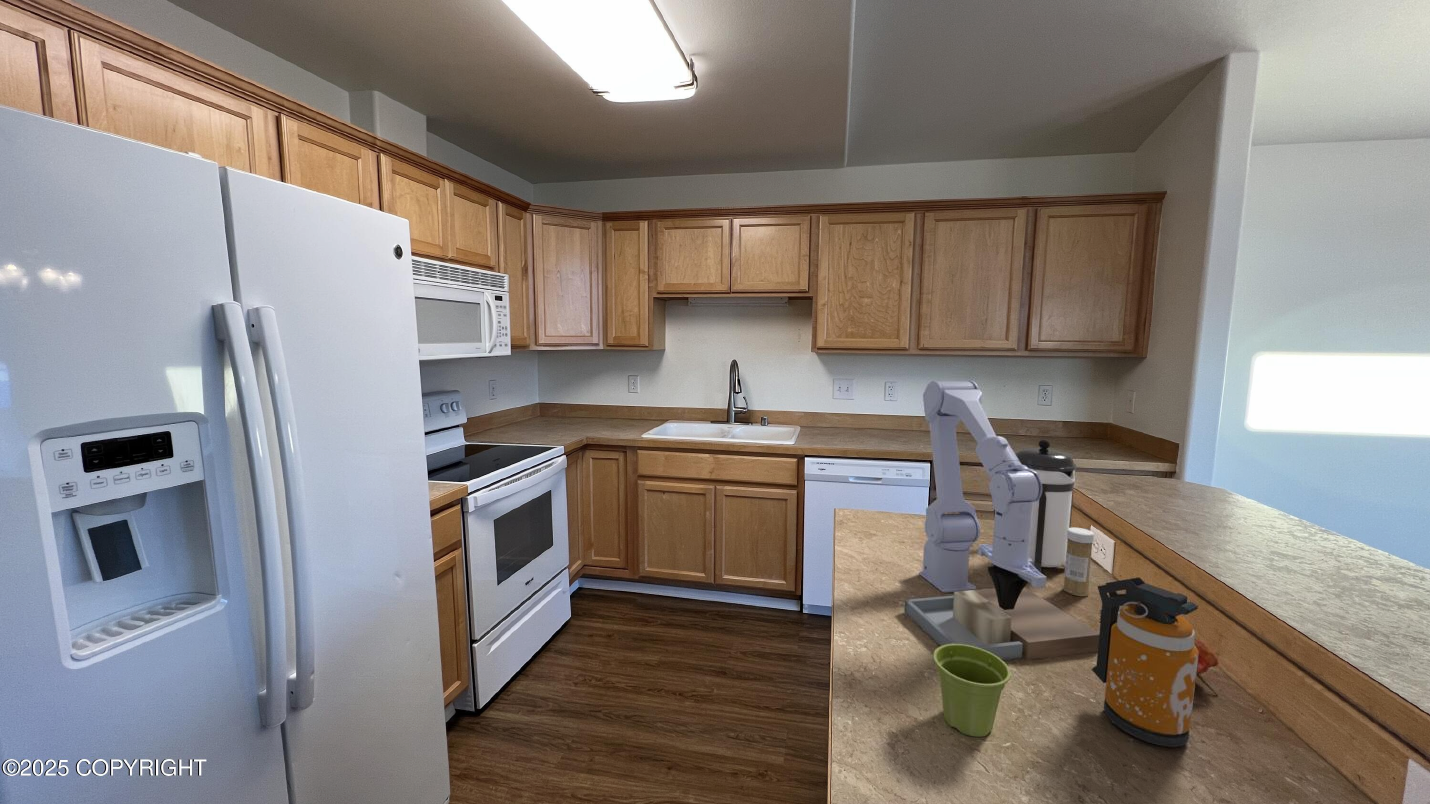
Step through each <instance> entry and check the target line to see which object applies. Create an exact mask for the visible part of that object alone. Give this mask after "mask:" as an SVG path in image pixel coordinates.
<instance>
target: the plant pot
mask: <svg viewBox="0 0 1430 804" xmlns="http://www.w3.org/2000/svg"><path fill="white" fill-rule="evenodd" d="M933 661H934V663H935V664H936V669H937V672H938V674H939V682H940V689H941V691H940V692H941V700H942V701H941V702H942V710H943V711H942V712H943V718H944V719H945V721H946V723H947V724H948V725H949V726H950V727H952V728H955V729H957V730H958V731H959V732H960V733H961V734H964V735H966V736H970V737H980V738H981V737H982V738H983V737H985V736H988V735H989V733H991V732H992V731H993V728H994V725H995V720H996V717H997V710H998V708H999V702H1000V698H1001V694H1002V691H1003V690H1004V689H1005V685H1006V684H1007V683H1008V682H1009V681H1010V678H1011V670H1010V668H1009V666H1008V665H1007V664H1006V662H1005V661H1004V660H1001V659H1000V658H999V657H997V656H995V655H994V654H992V653H990V652H988V651H986V650H983V649H981V648H978V647H974V646H970V645H964V644H947V645H943V646H941V647H940V646H939V647H936V649H935V650H934V652H933Z"/></svg>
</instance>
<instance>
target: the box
mask: <svg viewBox="0 0 1430 804" xmlns="http://www.w3.org/2000/svg"><path fill="white" fill-rule="evenodd" d="M953 603H954V595H945V596H936V597H935V596H934V597H933V596H931V597H924V598H923V597H922V598H912V599H905V600H904V614H906V615H907V616H908V617H909V618H910V619H911V620H912V621H913V622H914V623H915V624H916V625H918V627H919V628H920V629H921V630H922V631H923V632H925V634H926V635H927V636H928V637H930V639H932V640H933V641H934V642H935V643H936V644H937V645H938V646H939V647H941V646H943V645H947V644H964V645H970V646H974V647H978V648H981V649H983V650H986V651H988V652H990V653H992V654H994V655H995V656H997V657H999V658H1000V659H1001V660H1002V661H1007V660H1010V661H1011V660H1017V659H1022V658H1023V656H1022V649H1023V644H1022V643H1021V642H1020V641H1017V642H1008V643H999V644H990V645H986V644H985V643H983V642H982V641H981V640H980V639H979V638H977V637H976V636H975V635H974V634H973V633H971V632H970V631H969V630H968V629H967V628H965V627H964V626H963V625H962V624H961V623H959V622H958V621H957V620H956V619H955V618H953Z"/></svg>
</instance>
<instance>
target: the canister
mask: <svg viewBox="0 0 1430 804" xmlns="http://www.w3.org/2000/svg"><path fill="white" fill-rule="evenodd" d="M1097 590H1098V594H1099V597H1100V600H1101V609H1100V613H1099V614H1100V615H1099V617H1100V618H1099V623H1100V625H1099V632H1098V633H1099V643H1098V651H1097V655H1096V665H1095V666H1094V667H1093V668H1091V671H1092V672H1093V673H1094V674H1095V675H1096V677H1098V679H1099V680H1100V681H1101V682H1102V683H1103V684H1105V692H1104V693H1105V694H1104V702H1103V711H1104V712H1105V715H1106V716H1107V717H1108V719H1109V720H1110V721H1111V722H1112V723H1113V724H1115V725H1116V726H1117V727H1118V728H1119V729H1120V730H1122V731H1124V732H1126V733H1128V734H1130V736H1134V737H1135V738H1137V739H1140V740H1143V741H1145V742H1147V743H1151V744H1155V745H1159V746H1163V747H1181V746H1184V745H1186V744H1187V743H1189V742H1188V741H1189V737H1190V731H1191V730H1190V728H1191V721H1192V720H1191V719H1192V714H1193V713H1192V712H1193V704H1194V695H1195V688H1196V681H1197V679H1196V678H1197V675H1196V671H1197V663H1198V654H1199V652H1198V649H1197V648H1196V647H1195V645H1194V638H1195V634H1196V632H1195V630H1194V629H1193V626H1192V625H1191V623H1190V622H1189V621H1188V620H1187V619H1186V618H1184V617H1183V616H1181V615H1189V614H1191V613H1192V612H1195V611H1197V610H1198V609H1199V605H1197V604H1196V603H1195V602H1193V601H1188V596H1187V595H1185V594H1182V593H1180V592H1177V593H1175V592H1172V591H1170V590H1167V589H1164V588H1160V587H1158V586H1155V585H1153V584H1149V583H1146V582H1145V581H1144V580H1143V579H1142V578H1141V577H1140V576H1139V577H1133V578H1128V579H1121V580H1117V581H1116V580H1115V581H1109V582H1106V583H1105V584H1102V585H1097ZM1120 591H1125V593H1118V592H1120ZM1120 607H1121V608H1120Z"/></svg>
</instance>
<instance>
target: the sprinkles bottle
mask: <svg viewBox="0 0 1430 804" xmlns="http://www.w3.org/2000/svg"><path fill="white" fill-rule="evenodd" d="M1094 536H1095V533H1094V532H1093V531H1091V530H1089V529H1087V528H1081V527H1070V528H1069V529H1068V530H1067V540H1068V541H1067V551H1066V561H1065V563H1064V564H1065V565H1064V566H1065V568H1064V578H1063V586H1062V589H1063V591H1065V592H1066V593H1067V594H1069V595H1071V596H1072V595H1073V596H1076V597H1087V596H1089V594H1090V591H1089V589H1090V580H1091V569H1092V565H1091V563H1092V562H1091V561H1092V552H1093V551H1092V550H1093V543H1094V538H1095V537H1094Z"/></svg>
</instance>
